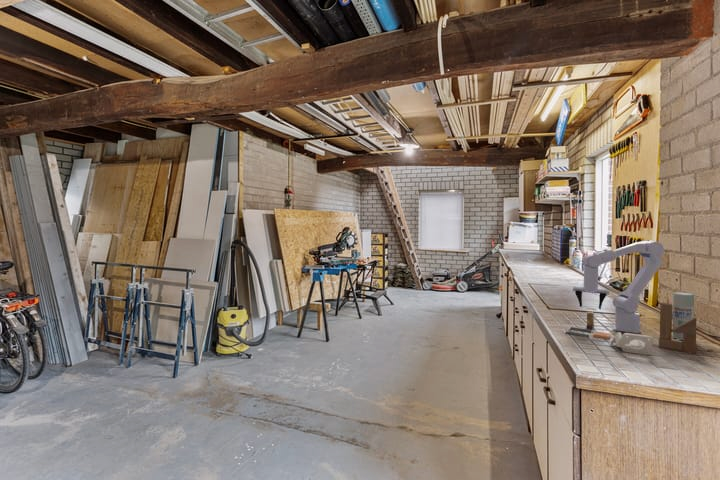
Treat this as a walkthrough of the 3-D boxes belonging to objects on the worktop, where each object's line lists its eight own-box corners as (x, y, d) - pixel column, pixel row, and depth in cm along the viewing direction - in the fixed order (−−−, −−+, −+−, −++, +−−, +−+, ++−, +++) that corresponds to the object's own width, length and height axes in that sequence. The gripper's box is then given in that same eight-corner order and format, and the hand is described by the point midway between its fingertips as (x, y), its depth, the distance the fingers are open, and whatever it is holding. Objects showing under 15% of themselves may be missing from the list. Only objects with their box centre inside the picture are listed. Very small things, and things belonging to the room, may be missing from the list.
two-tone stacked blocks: (593, 327, 166) (594, 311, 166) (592, 330, 160) (592, 314, 160) (587, 326, 167) (588, 310, 167) (586, 329, 162) (586, 313, 162)
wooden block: (695, 353, 131) (697, 307, 130) (658, 347, 138) (659, 303, 137) (695, 351, 133) (696, 306, 133) (658, 344, 141) (660, 302, 140)
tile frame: (591, 331, 159) (591, 329, 159) (588, 337, 151) (588, 335, 151) (569, 327, 165) (569, 325, 165) (565, 333, 156) (565, 331, 156)
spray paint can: (692, 338, 148) (693, 293, 147) (693, 342, 143) (694, 295, 142) (672, 335, 152) (673, 291, 151) (672, 339, 147) (673, 293, 147)
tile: (610, 337, 152) (610, 333, 152) (610, 340, 148) (610, 337, 148) (594, 334, 156) (594, 331, 156) (593, 337, 152) (593, 334, 152)
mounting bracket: (611, 353, 137) (613, 332, 133) (609, 343, 142) (611, 322, 137) (649, 359, 131) (653, 337, 126) (646, 348, 135) (649, 326, 131)
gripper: (572, 279, 165) (571, 306, 165) (608, 282, 155) (608, 311, 156) (574, 277, 170) (573, 304, 171) (609, 280, 161) (609, 308, 161)
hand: (590, 307), depth 164 cm, fingers open, 7 cm apart
